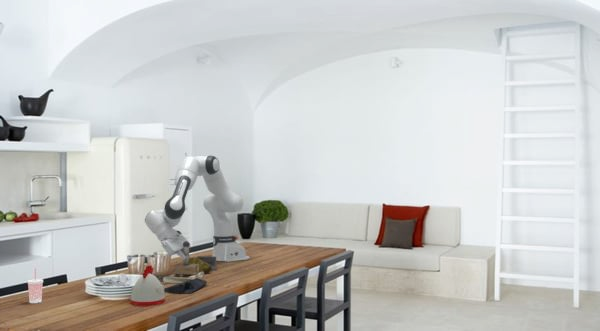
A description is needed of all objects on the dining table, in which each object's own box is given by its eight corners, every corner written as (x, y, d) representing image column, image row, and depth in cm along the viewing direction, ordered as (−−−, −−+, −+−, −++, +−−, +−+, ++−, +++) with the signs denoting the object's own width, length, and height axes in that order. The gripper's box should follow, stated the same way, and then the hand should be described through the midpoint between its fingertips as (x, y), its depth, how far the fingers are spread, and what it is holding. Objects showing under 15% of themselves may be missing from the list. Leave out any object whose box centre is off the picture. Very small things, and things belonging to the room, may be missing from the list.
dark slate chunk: (212, 286, 291) (212, 276, 290) (188, 296, 270) (188, 285, 270) (184, 284, 296) (184, 274, 296) (158, 293, 275) (158, 282, 275)
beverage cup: (38, 299, 261) (38, 266, 261) (46, 301, 257) (46, 268, 257) (24, 302, 257) (24, 268, 256) (32, 304, 253) (31, 270, 253)
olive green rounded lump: (202, 275, 315) (202, 259, 315) (183, 273, 322) (183, 257, 322) (213, 272, 322) (213, 257, 322) (194, 270, 329) (194, 255, 329)
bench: (195, 268, 335) (195, 255, 334) (219, 269, 331) (219, 256, 331) (163, 282, 297) (163, 267, 297) (190, 283, 294) (190, 269, 294)
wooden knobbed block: (179, 275, 312) (179, 239, 311) (200, 276, 309) (199, 240, 309) (173, 277, 305) (173, 241, 304) (194, 278, 302) (194, 242, 302)
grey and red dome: (170, 299, 262) (170, 264, 262) (155, 306, 248) (155, 269, 248) (140, 297, 265) (140, 262, 265) (124, 305, 252) (124, 268, 251)
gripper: (163, 235, 297) (182, 256, 295) (181, 230, 317) (199, 250, 315) (155, 244, 298) (173, 265, 296) (173, 239, 318) (191, 258, 316)
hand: (187, 257), depth 306 cm, fingers open, 3 cm apart
